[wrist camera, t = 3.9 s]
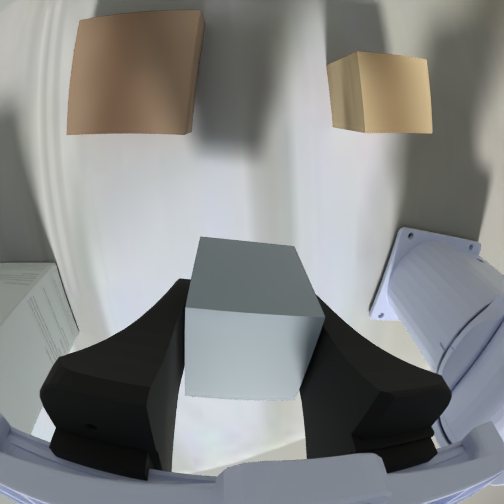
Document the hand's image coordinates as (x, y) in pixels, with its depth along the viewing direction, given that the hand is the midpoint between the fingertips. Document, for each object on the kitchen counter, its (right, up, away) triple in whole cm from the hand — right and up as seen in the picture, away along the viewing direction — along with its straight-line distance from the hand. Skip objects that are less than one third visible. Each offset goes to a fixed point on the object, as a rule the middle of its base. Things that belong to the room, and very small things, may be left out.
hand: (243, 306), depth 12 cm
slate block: (0, +1, +2) cm, 2 cm away
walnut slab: (-6, +13, +3) cm, 15 cm away
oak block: (+7, +12, +4) cm, 14 cm away
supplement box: (-18, -2, +9) cm, 21 cm away
